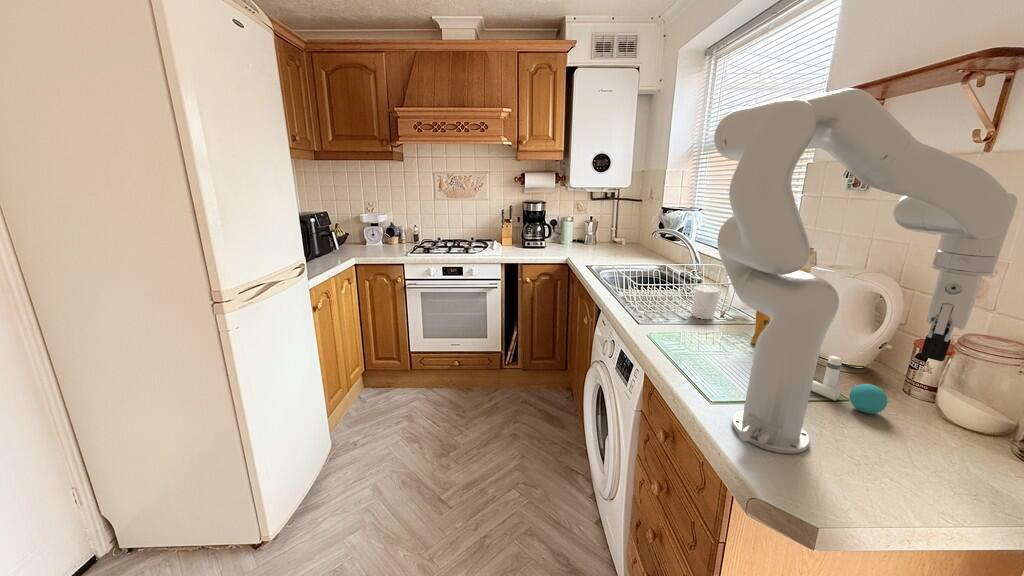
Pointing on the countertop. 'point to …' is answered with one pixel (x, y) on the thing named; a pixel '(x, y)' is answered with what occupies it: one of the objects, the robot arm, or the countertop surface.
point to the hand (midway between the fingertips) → (932, 357)
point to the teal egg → (868, 398)
